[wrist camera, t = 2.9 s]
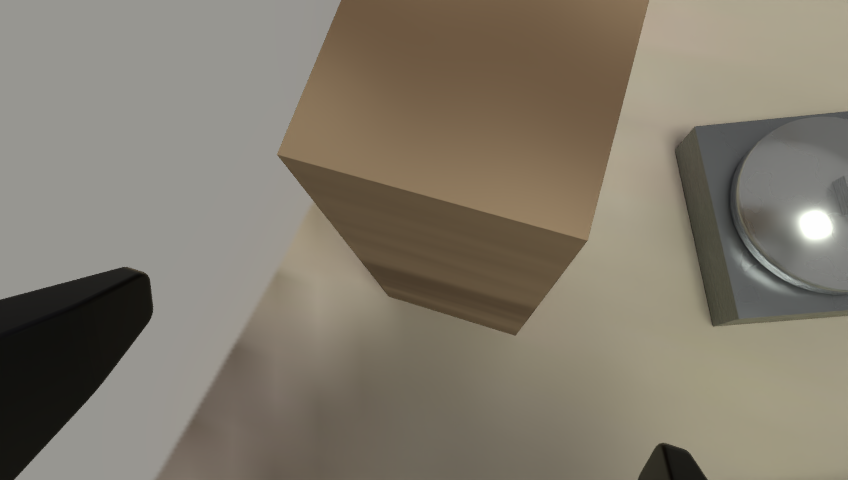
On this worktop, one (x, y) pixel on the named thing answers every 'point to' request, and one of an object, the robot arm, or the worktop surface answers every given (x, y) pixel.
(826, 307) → the crank base
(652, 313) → the worktop surface
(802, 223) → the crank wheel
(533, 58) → the block
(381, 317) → the worktop surface
